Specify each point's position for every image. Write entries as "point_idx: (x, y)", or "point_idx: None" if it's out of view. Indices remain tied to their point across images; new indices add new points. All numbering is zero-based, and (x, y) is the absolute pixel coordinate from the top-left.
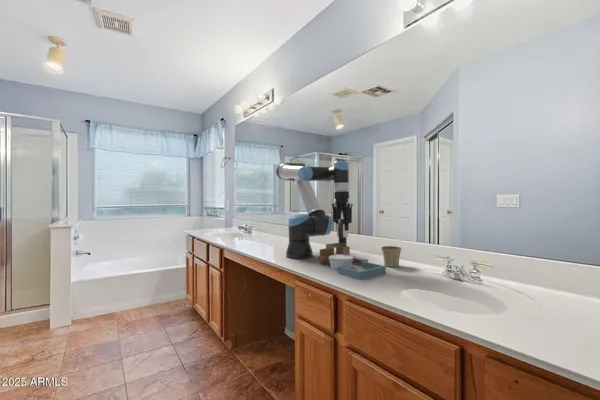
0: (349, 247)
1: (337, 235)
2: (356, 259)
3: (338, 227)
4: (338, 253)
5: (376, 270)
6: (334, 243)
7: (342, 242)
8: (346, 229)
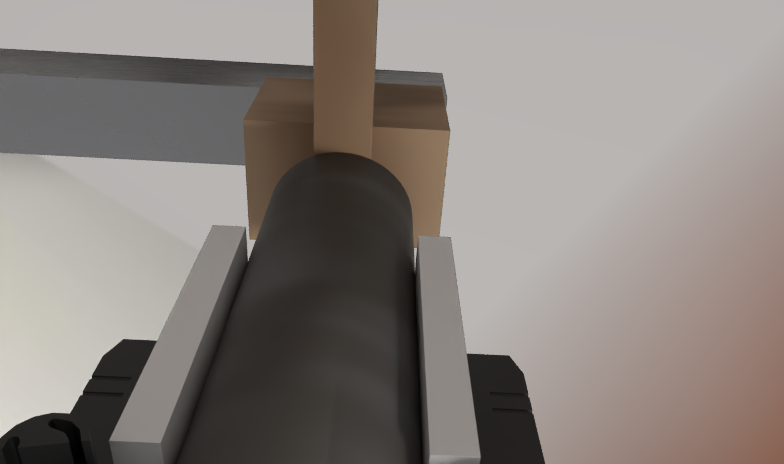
0: (251, 228)
1: (434, 245)
2: (36, 73)
3: (370, 353)
4: (387, 88)
5: None
6: (355, 26)
7: (287, 175)
8: (106, 359)
